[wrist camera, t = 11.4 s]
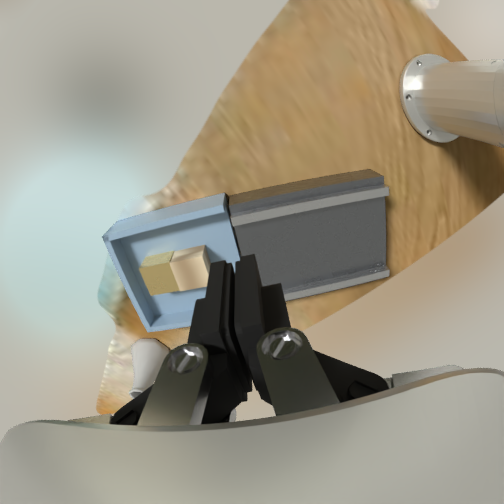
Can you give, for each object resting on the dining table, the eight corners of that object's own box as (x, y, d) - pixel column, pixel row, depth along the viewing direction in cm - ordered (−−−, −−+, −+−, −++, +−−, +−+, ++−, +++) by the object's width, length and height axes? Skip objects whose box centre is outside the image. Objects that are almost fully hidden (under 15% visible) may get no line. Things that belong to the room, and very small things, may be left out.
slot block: (369, 169, 34) (388, 178, 29) (374, 263, 40) (388, 282, 36) (229, 195, 35) (228, 209, 30) (253, 290, 41) (255, 313, 37)
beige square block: (204, 244, 35) (202, 256, 33) (213, 272, 37) (211, 285, 34) (174, 251, 35) (169, 263, 33) (184, 278, 37) (180, 291, 35)
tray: (224, 192, 35) (222, 204, 30) (251, 293, 42) (252, 315, 37) (116, 221, 36) (102, 236, 31) (155, 311, 42) (147, 332, 38)
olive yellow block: (173, 250, 35) (168, 262, 33) (183, 277, 37) (179, 290, 35) (145, 256, 36) (138, 268, 33) (156, 282, 37) (150, 295, 35)
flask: (179, 360, 48) (171, 406, 39) (147, 368, 49) (136, 411, 40) (156, 332, 45) (142, 378, 36) (124, 342, 46) (107, 385, 37)
